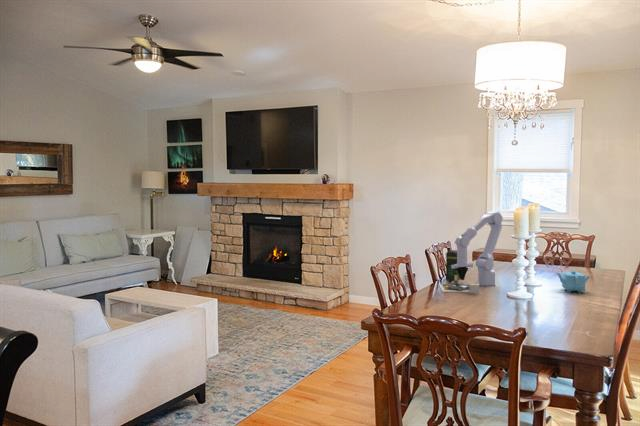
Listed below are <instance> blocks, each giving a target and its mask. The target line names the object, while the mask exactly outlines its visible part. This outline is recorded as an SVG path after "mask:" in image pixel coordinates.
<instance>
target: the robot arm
mask: <svg viewBox="0 0 640 426" xmlns="http://www.w3.org/2000/svg"><path fill="white" fill-rule="evenodd" d="M503 219H504V217H503V216H502V213H500V212H498V211H489V210H488V211H485V213H484V214H482V217H481V218H480V219H478V221H477V222H475V224H474V225H473V227H467V229H466V230H465V231H464V232H463V233H462V234H461V235H459V236H457V237H456V239H455V241H454V243H455V245H456V251H457V264H454V265H451V268H453V269H455V268H456V270H457V271H458V274H459V277H460V279H459V280H461V281H464V280H465V279H466V278H465V277H466V274H467V272H468V271H469V268H473V267H474V263H470V262H468V246H469V245H470V242H471V241H472V239H474V238H475V237H476V236H477V234H478V231H479V230H480V229H482V228H484V226H485V225H486V224H488V226H490V232H489V234H488V236H487V240H486V243H485V246H484V248H483V251H482V253H480V254H479V256H478V258H477V259H476V260H475V267H477V273H478V275H477V280H478V281H477V282H476V283H475V284H479V287H480V286H483V287H484V286H486V287H487V286H488V287H489V286H492V287H493V286H494V287H495V286H496V270H494V269H493V268H494V261H495V257H494V256H493V254H494V251H495V248H496V246H497V242H498V240H499V236H500V234H501V231H502V228H503V227H502V226H503V225H502V222H503Z"/></svg>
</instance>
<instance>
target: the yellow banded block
mask: <svg viewBox="0 0 640 426" xmlns="http://www.w3.org/2000/svg"><path fill="white" fill-rule="evenodd" d="M468 294H469V295H479V294H480V286H479V284H477V283H469V292H468Z"/></svg>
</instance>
